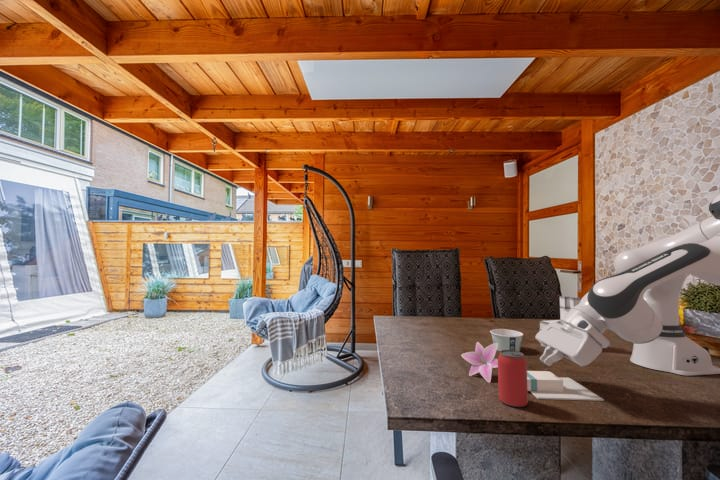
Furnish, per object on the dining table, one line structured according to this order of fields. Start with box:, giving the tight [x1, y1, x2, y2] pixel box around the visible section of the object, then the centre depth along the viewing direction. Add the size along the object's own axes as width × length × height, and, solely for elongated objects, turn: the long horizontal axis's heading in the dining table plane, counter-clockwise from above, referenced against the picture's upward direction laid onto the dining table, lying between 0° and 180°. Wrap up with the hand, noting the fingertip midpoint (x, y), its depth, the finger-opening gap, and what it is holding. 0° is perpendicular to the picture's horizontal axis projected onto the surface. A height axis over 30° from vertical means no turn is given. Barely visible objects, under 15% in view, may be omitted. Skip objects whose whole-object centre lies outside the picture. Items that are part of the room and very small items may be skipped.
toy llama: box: [538, 295, 581, 348], centre depth 124 cm, size 8×18×20 cm, turn 101°
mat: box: [528, 376, 605, 402], centre depth 84 cm, size 16×14×1 cm
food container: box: [489, 328, 524, 352], centre depth 121 cm, size 12×12×6 cm
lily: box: [460, 341, 498, 384], centre depth 94 cm, size 12×12×10 cm
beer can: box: [497, 350, 529, 408], centre depth 77 cm, size 7×7×12 cm
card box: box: [527, 370, 563, 392], centre depth 85 cm, size 3×6×10 cm
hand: (544, 362), depth 85 cm, fingers closed
